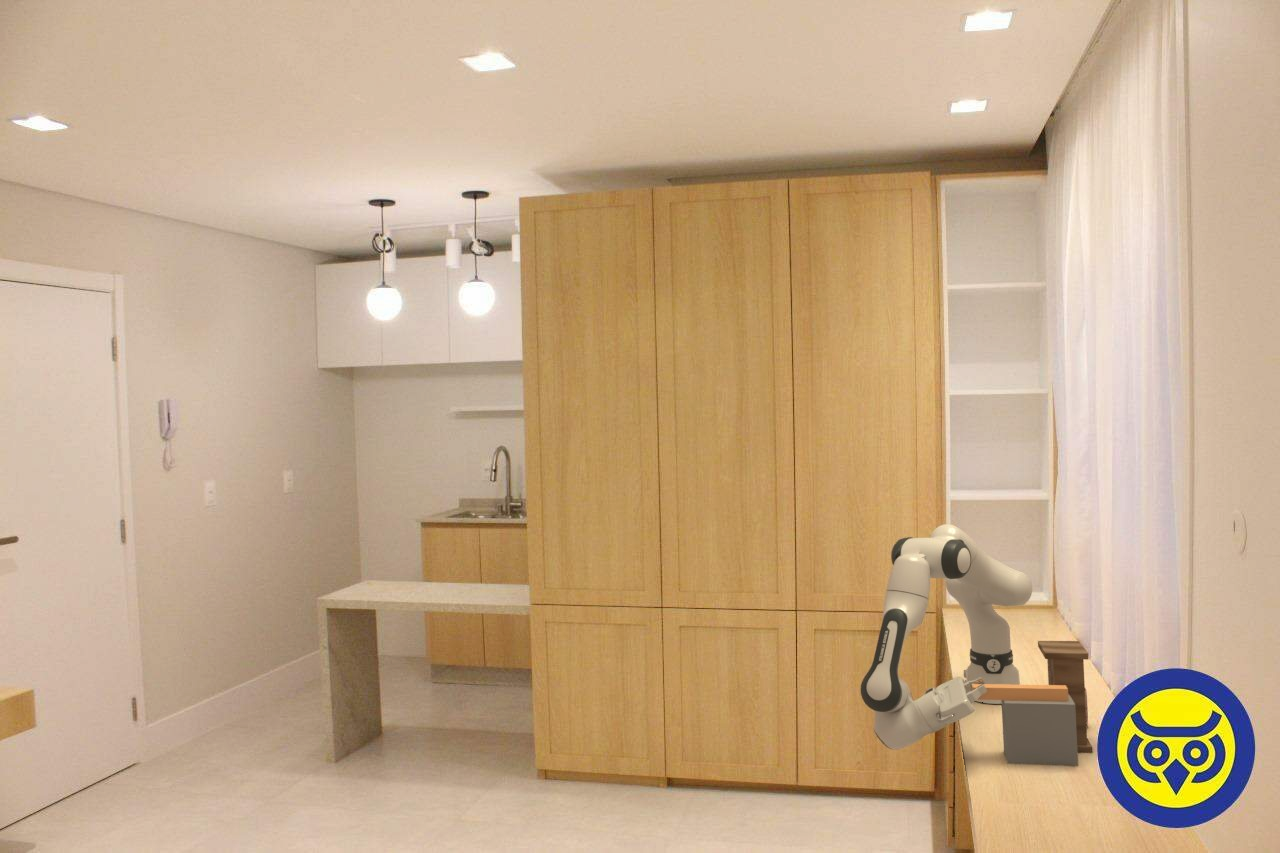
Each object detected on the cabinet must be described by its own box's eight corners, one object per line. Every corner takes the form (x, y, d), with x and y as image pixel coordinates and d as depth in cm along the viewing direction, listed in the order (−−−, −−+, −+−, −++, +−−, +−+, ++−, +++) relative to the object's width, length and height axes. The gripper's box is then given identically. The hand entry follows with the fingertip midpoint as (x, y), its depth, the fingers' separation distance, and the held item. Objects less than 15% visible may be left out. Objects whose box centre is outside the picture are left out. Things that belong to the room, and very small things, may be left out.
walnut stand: (1042, 734, 256) (1037, 640, 255) (1083, 735, 253) (1078, 641, 252) (1049, 751, 244) (1045, 653, 243) (1092, 752, 241) (1088, 653, 241)
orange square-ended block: (972, 695, 244) (971, 683, 244) (1066, 697, 239) (1065, 685, 239) (973, 699, 242) (972, 687, 241) (1068, 701, 236) (1067, 689, 236)
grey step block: (1003, 751, 246) (1001, 693, 245) (1071, 753, 242) (1069, 694, 241) (1007, 763, 238) (1004, 703, 237) (1078, 766, 234) (1075, 704, 234)
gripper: (930, 713, 236) (981, 685, 232) (927, 687, 255) (973, 661, 252) (945, 735, 235) (996, 708, 232) (940, 708, 255) (987, 682, 252)
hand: (984, 684), depth 242 cm, fingers open, 4 cm apart
